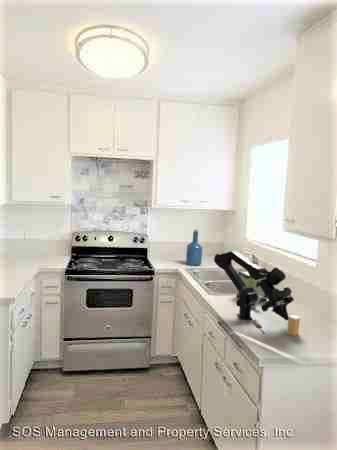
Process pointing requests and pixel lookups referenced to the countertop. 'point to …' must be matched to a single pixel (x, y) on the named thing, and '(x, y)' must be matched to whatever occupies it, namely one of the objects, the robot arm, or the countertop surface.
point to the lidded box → (293, 325)
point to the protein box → (252, 284)
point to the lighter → (257, 302)
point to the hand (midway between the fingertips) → (287, 320)
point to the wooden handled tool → (257, 325)
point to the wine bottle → (194, 251)
